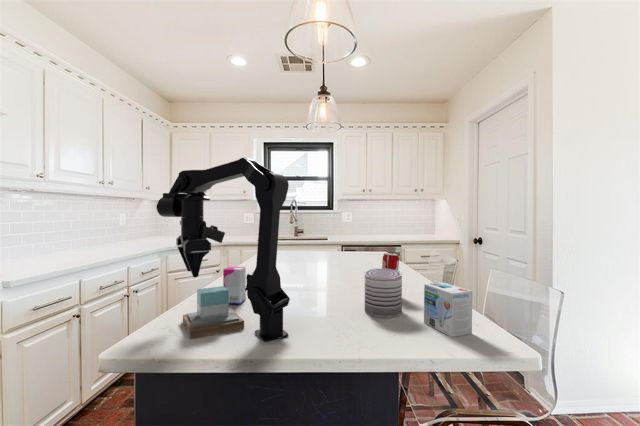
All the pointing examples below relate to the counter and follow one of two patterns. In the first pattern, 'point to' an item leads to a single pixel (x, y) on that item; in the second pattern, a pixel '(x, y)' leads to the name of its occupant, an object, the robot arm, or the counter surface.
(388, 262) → the beverage can
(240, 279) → the supplement box
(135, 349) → the counter surface
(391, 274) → the can
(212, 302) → the teal and white box
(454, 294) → the light bulb box
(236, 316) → the square wooden frame
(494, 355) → the counter surface
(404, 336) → the counter surface
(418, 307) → the counter surface
